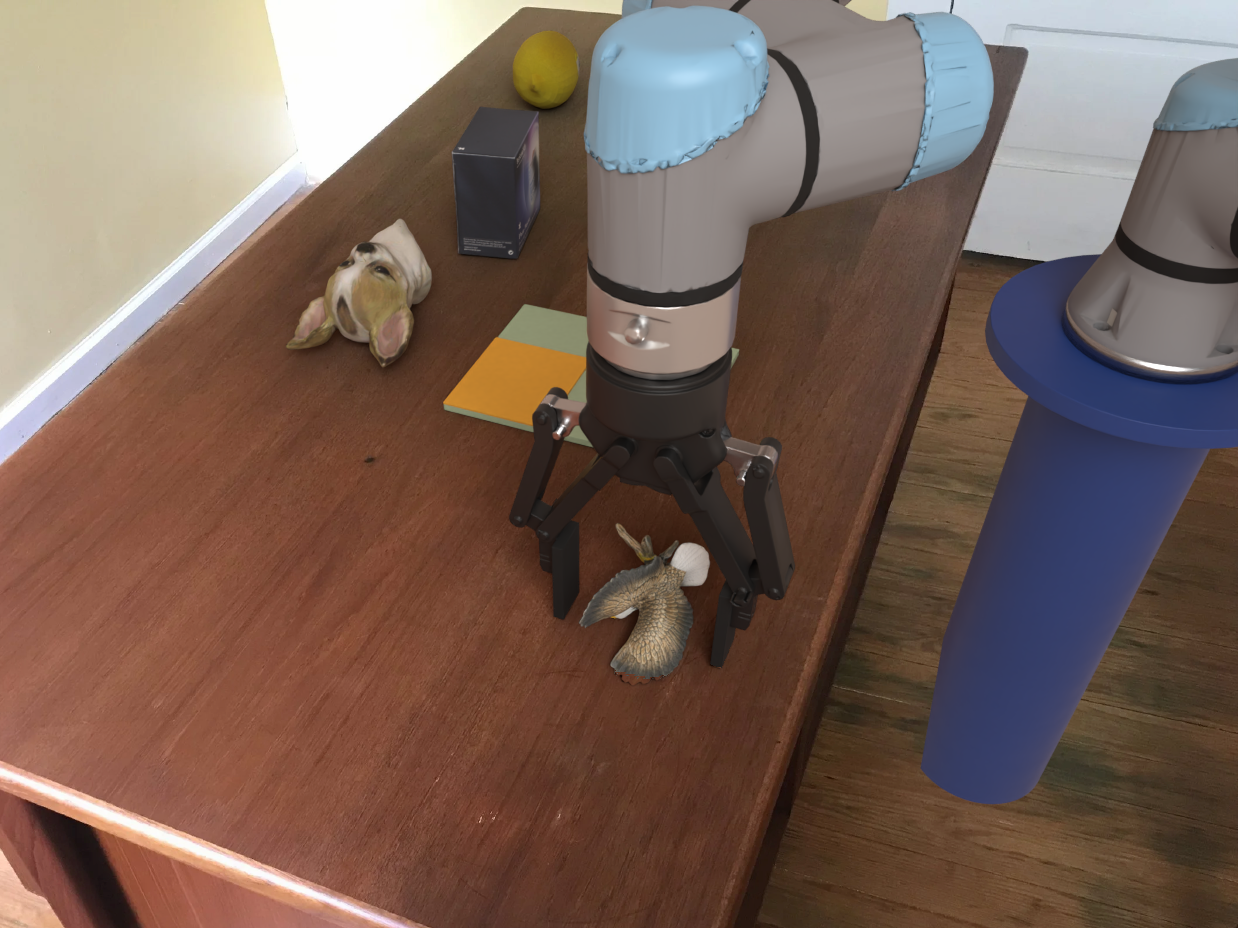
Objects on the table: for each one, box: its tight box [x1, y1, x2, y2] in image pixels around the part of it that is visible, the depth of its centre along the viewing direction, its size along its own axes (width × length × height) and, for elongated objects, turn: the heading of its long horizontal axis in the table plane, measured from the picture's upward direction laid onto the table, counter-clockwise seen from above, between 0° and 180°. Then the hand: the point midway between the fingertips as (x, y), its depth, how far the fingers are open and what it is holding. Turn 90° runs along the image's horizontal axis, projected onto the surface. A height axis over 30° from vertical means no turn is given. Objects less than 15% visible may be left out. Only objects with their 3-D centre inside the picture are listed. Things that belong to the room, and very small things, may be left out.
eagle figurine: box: [578, 522, 711, 679], centre depth 70 cm, size 8×7×9 cm
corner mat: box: [442, 303, 740, 448], centre depth 91 cm, size 20×16×1 cm
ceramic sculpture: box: [285, 218, 433, 368], centre depth 96 cm, size 11×9×15 cm
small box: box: [451, 106, 541, 260], centre depth 107 cm, size 11×6×10 cm, turn 167°
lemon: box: [512, 30, 581, 110], centre depth 129 cm, size 11×8×8 cm
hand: (642, 627), depth 72 cm, fingers open, 10 cm apart
